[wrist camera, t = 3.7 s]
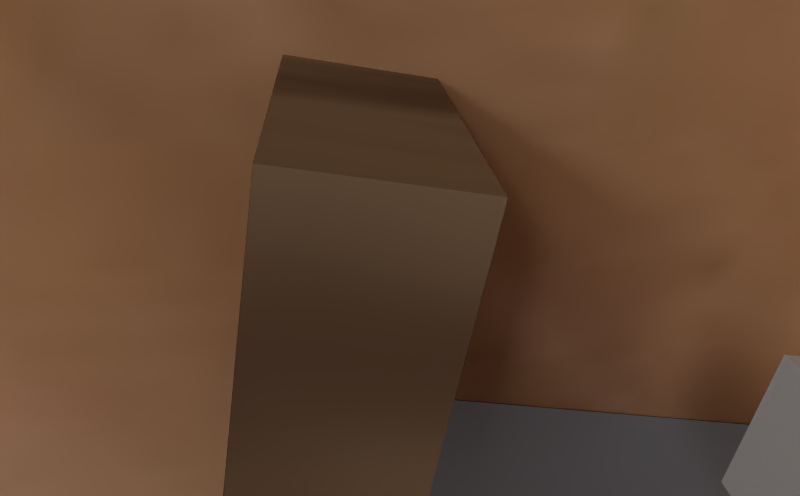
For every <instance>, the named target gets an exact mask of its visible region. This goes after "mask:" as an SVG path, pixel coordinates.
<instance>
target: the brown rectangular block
mask: <svg viewBox="0 0 800 496" xmlns="http://www.w3.org/2000/svg"><path fill="white" fill-rule="evenodd" d="M507 200H508V196H507V194H506V193H505V191H504V189H503V188H502V186H501V184H500V183H499V181H498V179H497V178H496V176H495V174H494V173H493V171H492V169H491V168H490V166H489V164H488V163H487V161H486V159H485V158H484V156H483V154H482V153H481V151H480V149H479V148H478V146H477V144H476V143H475V141H474V139H473V138H472V136H471V134H470V133H469V131H468V129H467V128H466V126H465V124H464V123H463V121H462V119H461V118H460V116H459V114H458V113H457V111H456V109H455V108H454V106H453V104H452V103H451V101H450V99H449V98H448V96H447V94H446V93H445V91H444V89H443V88H442V86H441V84H440V83H439V81H438V79H433V78H427V77H421V76H415V75H408V74H402V73H396V72H389V71H383V70H377V69H371V68H364V67H358V66H352V65H346V64H339V63H333V62H327V61H320V60H314V59H308V58H302V57H295V56H289V55H283V56H282V60H281V63H280V67H279V71H278V74H277V78H276V82H275V85H274V89H273V92H272V96H271V100H270V103H269V107H268V111H267V114H266V118H265V122H264V125H263V129H262V132H261V136H260V140H259V143H258V147H257V151H256V154H255V158H254V161H253V169H252V180H251V191H250V202H249V213H248V224H247V236H246V247H245V258H244V269H243V280H242V291H241V302H240V314H239V325H238V336H237V347H236V358H235V369H234V380H233V392H232V403H231V414H230V425H229V436H228V447H227V459H226V470H225V481H224V492H223V496H429V494H430V491H431V487H432V483H433V479H434V476H435V472H436V468H437V464H438V461H439V457H440V453H441V449H442V445H443V442H444V438H445V434H446V430H447V427H448V423H449V419H450V415H451V411H452V408H453V404H454V400H455V396H456V393H457V389H458V385H459V381H460V377H461V374H462V370H463V366H464V362H465V359H466V355H467V351H468V347H469V344H470V340H471V336H472V332H473V328H474V325H475V321H476V317H477V313H478V310H479V306H480V302H481V298H482V294H483V291H484V287H485V283H486V279H487V276H488V272H489V268H490V264H491V260H492V257H493V253H494V249H495V245H496V242H497V238H498V234H499V230H500V227H501V223H502V219H503V215H504V211H505V208H506V204H507Z"/></svg>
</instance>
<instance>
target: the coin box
mask: <svg viewBox="0 0 800 496" xmlns="http://www.w3.org/2000/svg"><path fill="white" fill-rule="evenodd" d="M748 427H749V425H746V424H734V423H722V422H710V421H698V420H686V419H674V418H662V417H650V416H638V415H626V414H614V413H602V412H590V411H578V410H566V409H554V408H542V407H530V406H518V405H506V404H494V403H482V402H470V401H458V400H454V404H453V408H452V411H451V415H450V419H449V423H448V427H447V430H446V434H445V438H444V442H443V445H442V449H441V453H440V457H439V461H438V464H437V468H436V472H435V476H434V479H433V483H432V487H431V491H430V494H429V496H730V494H729V493H728V491H727V490H726V488H725V487H724V485H723V484H722V482H721V481H722V479H723V477H724V475H725V473H726V471H727V469H728V467H729V465H730V463H731V461H732V459H733V457H734V455H735V453H736V451H737V449H738V447H739V445H740V443H741V441H742V439H743V437H744V435H745V433H746V431H747V429H748Z"/></svg>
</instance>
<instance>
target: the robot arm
mask: <svg viewBox="0 0 800 496" xmlns="http://www.w3.org/2000/svg"><path fill="white" fill-rule="evenodd" d="M721 482H722V484H723V485H724V487H725V488H726V490H727V491H728V493H729V494H730V496H800V356H793V355H784V356H783V358H782V360H781V362H780V364H779V366H778V368H777V370H776V372H775V374H774V376H773V378H772V380H771V382H770V384H769V386H768V388H767V390H766V392H765V394H764V396H763V398H762V400H761V402H760V404H759V406H758V408H757V411H756V413H755V415H754V417H753V419H752V421H751V423H750V425H749V427H748V429H747V431H746V433H745V435H744V437H743V439H742V441H741V443H740V445H739V447H738V449H737V451H736V453H735V455H734V457H733V459H732V461H731V463H730V465H729V467H728V469H727V471H726V473H725V475H724V477H723V479H722V481H721Z"/></svg>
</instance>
